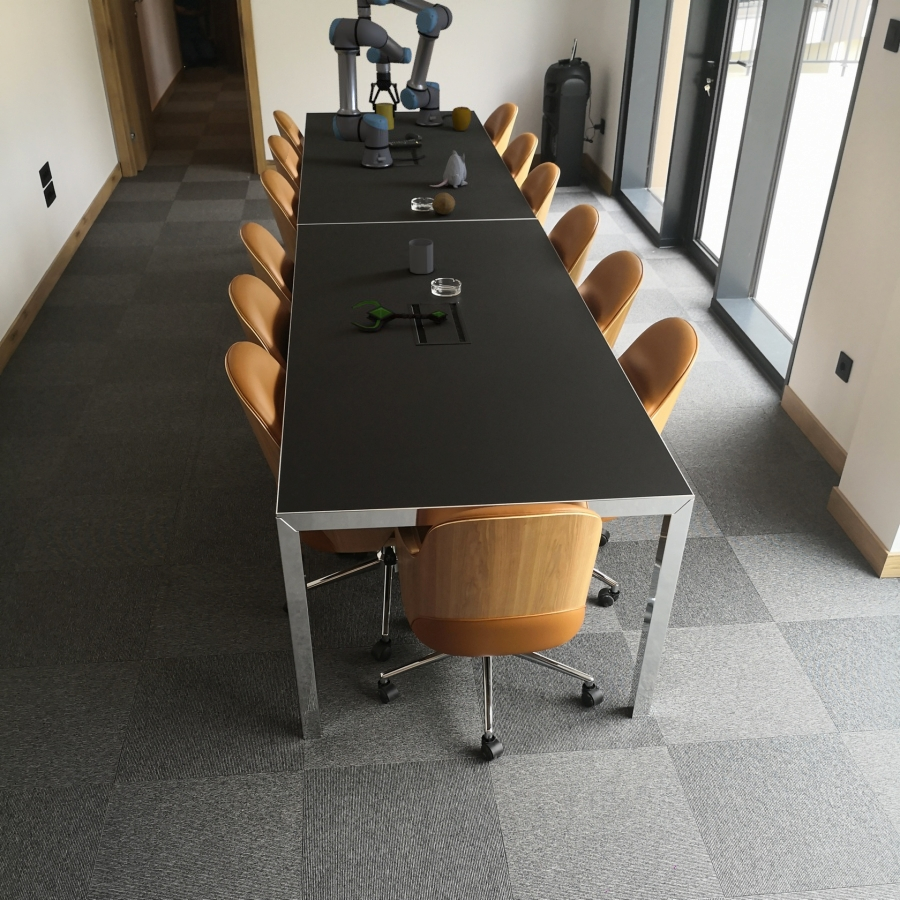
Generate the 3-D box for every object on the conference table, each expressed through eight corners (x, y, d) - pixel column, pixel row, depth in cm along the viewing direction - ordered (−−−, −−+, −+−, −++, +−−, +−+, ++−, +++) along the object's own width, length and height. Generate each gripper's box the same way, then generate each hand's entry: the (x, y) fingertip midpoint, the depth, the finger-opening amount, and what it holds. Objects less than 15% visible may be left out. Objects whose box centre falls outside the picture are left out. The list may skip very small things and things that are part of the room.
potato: (453, 208, 369) (453, 189, 365) (456, 218, 357) (456, 199, 353) (431, 208, 368) (430, 189, 364) (432, 218, 356) (432, 199, 352)
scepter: (447, 295, 270) (351, 293, 268) (448, 326, 263) (349, 324, 261) (446, 308, 275) (351, 306, 273) (447, 339, 268) (350, 337, 266)
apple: (471, 132, 486) (471, 108, 479) (451, 132, 486) (451, 108, 479) (470, 128, 495) (471, 104, 488) (452, 128, 495) (452, 104, 488)
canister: (386, 130, 462) (386, 106, 455) (373, 128, 466) (372, 104, 460) (397, 127, 468) (396, 103, 462) (383, 125, 473) (383, 102, 466)
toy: (472, 184, 399) (472, 151, 391) (436, 195, 384) (436, 161, 376) (457, 180, 404) (458, 147, 396) (422, 191, 389) (421, 157, 381)
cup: (409, 265, 311) (408, 238, 306) (432, 265, 312) (431, 238, 307) (410, 274, 304) (409, 246, 299) (433, 273, 305) (433, 246, 299)
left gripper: (405, 71, 454) (406, 116, 466) (364, 70, 456) (366, 115, 468) (403, 73, 448) (404, 118, 460) (361, 72, 450) (363, 118, 462)
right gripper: (344, 14, 489) (346, 55, 500) (375, 18, 475) (376, 60, 486) (354, 13, 493) (356, 54, 505) (384, 17, 479) (386, 58, 491)
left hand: (385, 117), depth 464 cm, fingers closed on canister, 9 cm apart
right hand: (366, 57), depth 496 cm, fingers open, 13 cm apart
